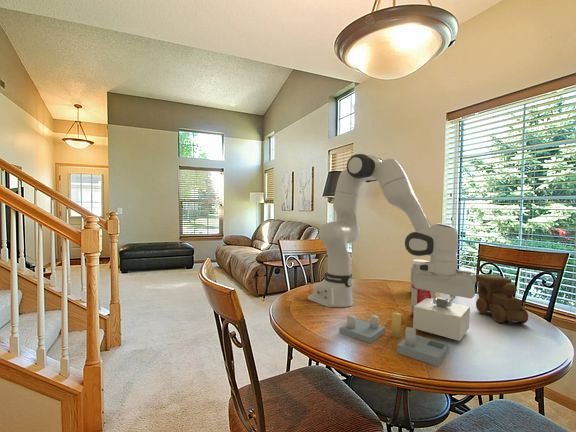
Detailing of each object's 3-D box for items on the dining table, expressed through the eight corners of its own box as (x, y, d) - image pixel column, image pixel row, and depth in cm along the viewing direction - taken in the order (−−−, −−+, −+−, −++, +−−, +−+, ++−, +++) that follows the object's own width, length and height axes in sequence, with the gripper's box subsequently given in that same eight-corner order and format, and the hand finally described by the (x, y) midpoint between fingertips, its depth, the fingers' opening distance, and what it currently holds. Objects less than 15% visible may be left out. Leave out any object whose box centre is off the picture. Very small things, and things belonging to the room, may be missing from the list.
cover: (413, 328, 109) (414, 298, 109) (426, 317, 121) (426, 290, 121) (459, 340, 99) (461, 308, 99) (469, 327, 111) (470, 298, 110)
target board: (396, 352, 94) (397, 329, 94) (410, 340, 103) (411, 319, 103) (437, 366, 86) (438, 341, 86) (448, 352, 95) (449, 328, 95)
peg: (390, 336, 106) (390, 313, 106) (393, 333, 108) (394, 311, 108) (398, 338, 104) (399, 316, 104) (401, 336, 106) (402, 314, 106)
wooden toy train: (471, 309, 138) (473, 273, 137) (496, 310, 138) (497, 274, 137) (503, 326, 118) (504, 285, 117) (531, 327, 118) (533, 285, 117)
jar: (433, 296, 157) (434, 262, 157) (414, 295, 157) (415, 261, 157) (424, 291, 167) (426, 259, 167) (407, 290, 167) (408, 258, 167)
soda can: (407, 316, 126) (409, 281, 126) (414, 312, 132) (415, 278, 132) (427, 321, 121) (428, 284, 121) (433, 316, 127) (434, 281, 126)
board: (339, 332, 108) (339, 316, 108) (355, 323, 117) (356, 308, 117) (370, 343, 100) (370, 325, 100) (385, 332, 109) (385, 316, 109)
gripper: (478, 270, 105) (476, 309, 105) (418, 262, 119) (416, 297, 119) (474, 273, 100) (473, 314, 101) (412, 264, 114) (411, 300, 114)
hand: (442, 304), depth 110 cm, fingers closed on cover, 3 cm apart
